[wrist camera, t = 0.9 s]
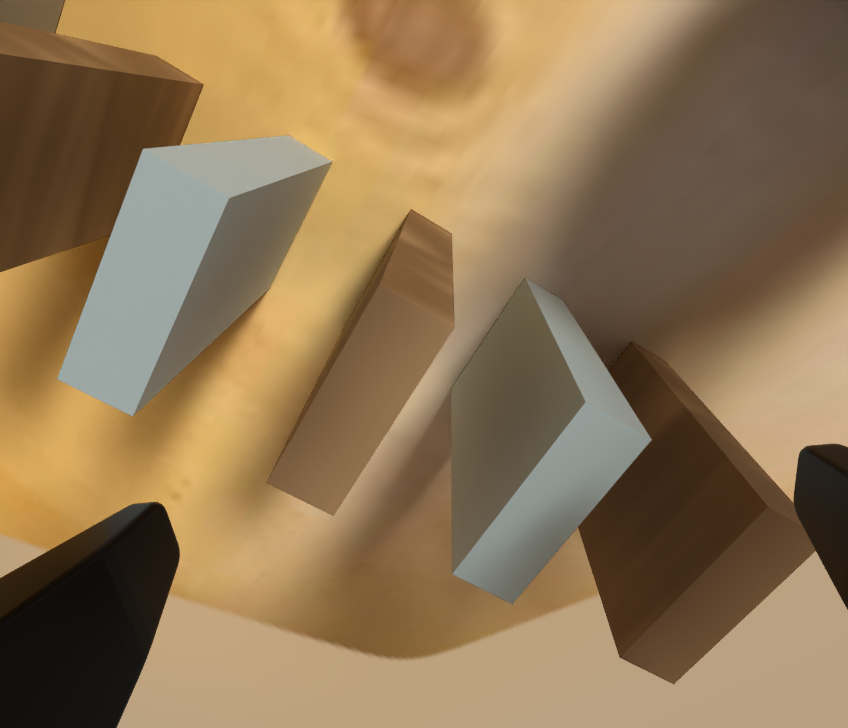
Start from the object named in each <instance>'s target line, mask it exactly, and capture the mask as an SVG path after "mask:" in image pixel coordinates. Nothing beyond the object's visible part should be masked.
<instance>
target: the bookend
mask: <svg viewBox="0 0 848 728" xmlns="http://www.w3.org/2000/svg"><path fill="white" fill-rule="evenodd" d="M63 3H64V0H0V21H2V22H6V23H11V24H15V25H19V26H24V27H28V28H33V29H37V30H42V31H46V32H51V33H55V30H56V27H57V23H58V20H59V17H60V13H61V10H62V7H63Z"/></svg>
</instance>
